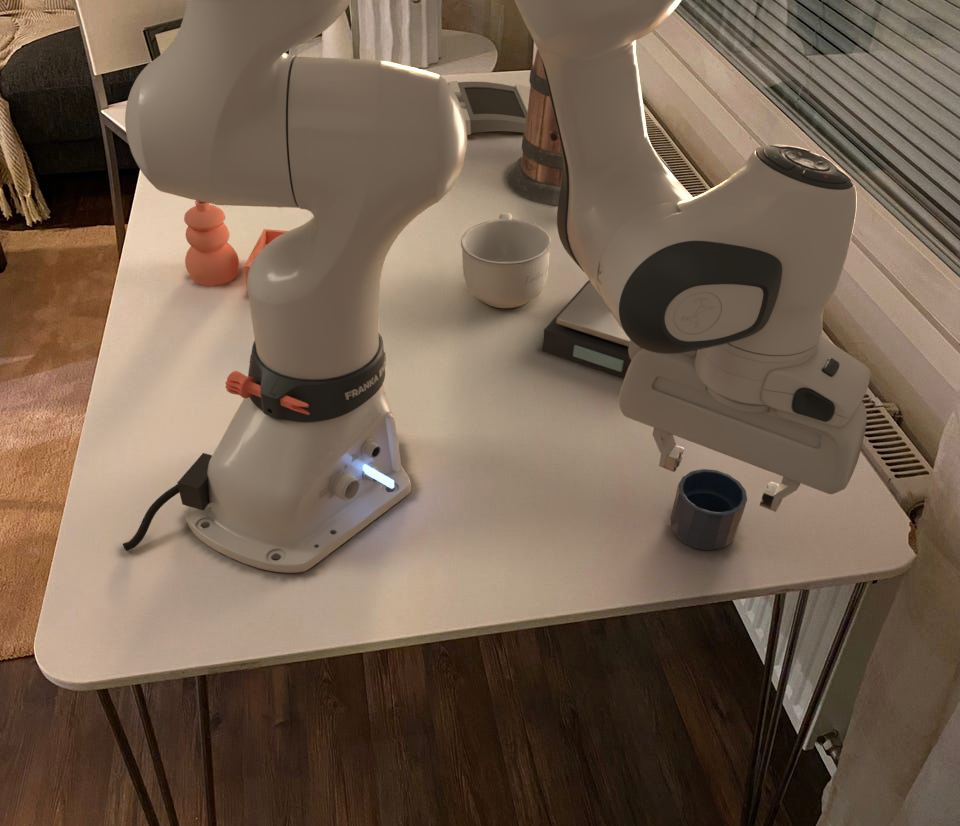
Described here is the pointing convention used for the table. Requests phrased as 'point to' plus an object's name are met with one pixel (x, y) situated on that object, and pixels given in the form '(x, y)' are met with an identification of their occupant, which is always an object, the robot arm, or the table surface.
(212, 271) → the pottery
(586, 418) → the table surface
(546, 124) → the tankard
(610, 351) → the scale
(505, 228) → the teacup
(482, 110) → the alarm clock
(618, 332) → the scale pan
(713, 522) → the cup
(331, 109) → the robot arm
